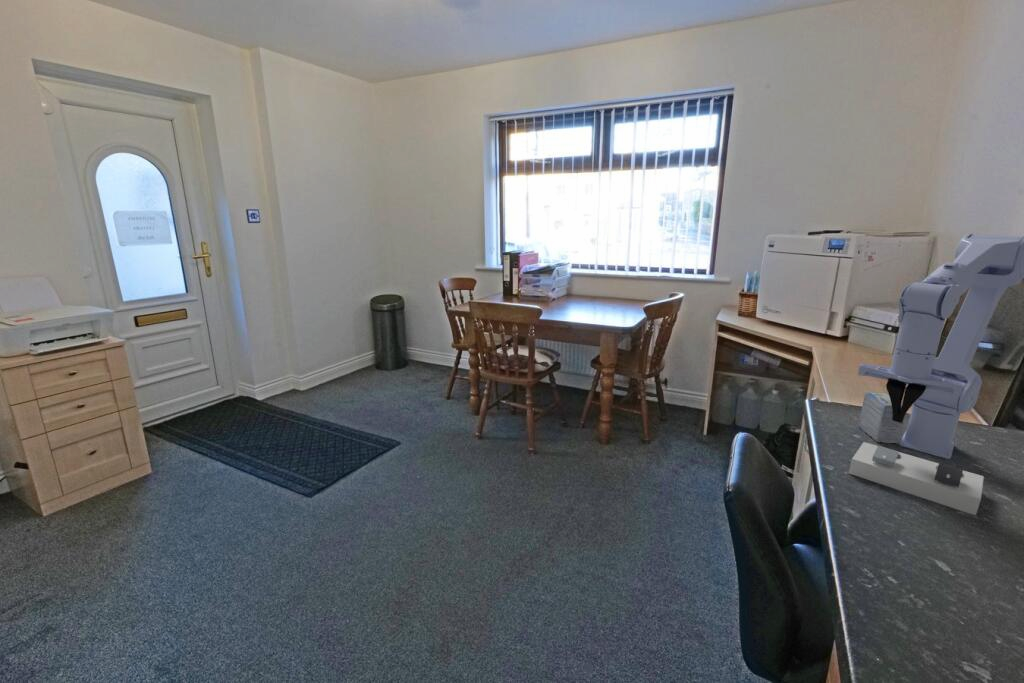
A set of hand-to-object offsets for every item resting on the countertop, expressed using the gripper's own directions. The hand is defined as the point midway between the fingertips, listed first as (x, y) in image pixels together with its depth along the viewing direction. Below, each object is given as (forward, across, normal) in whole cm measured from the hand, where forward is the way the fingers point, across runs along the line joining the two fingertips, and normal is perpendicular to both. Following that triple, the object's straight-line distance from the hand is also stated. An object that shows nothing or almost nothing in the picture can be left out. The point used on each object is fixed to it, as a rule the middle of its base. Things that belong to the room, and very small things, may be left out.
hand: (897, 420), depth 87 cm
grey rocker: (+5, 0, -6) cm, 8 cm away
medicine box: (+10, -4, +15) cm, 18 cm away
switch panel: (+9, +4, -4) cm, 11 cm away
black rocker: (+5, +8, -6) cm, 12 cm away
